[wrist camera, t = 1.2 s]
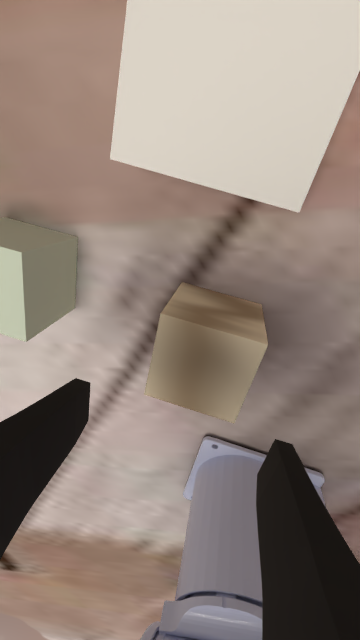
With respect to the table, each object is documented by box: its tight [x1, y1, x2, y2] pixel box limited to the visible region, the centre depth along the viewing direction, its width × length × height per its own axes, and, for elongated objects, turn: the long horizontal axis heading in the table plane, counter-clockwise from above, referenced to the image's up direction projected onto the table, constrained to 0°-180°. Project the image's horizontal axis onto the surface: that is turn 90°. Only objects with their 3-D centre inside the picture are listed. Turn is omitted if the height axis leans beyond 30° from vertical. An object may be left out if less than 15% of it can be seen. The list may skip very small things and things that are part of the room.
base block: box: [110, 0, 360, 213], centre depth 11 cm, size 8×8×4 cm
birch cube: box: [144, 282, 268, 423], centre depth 16 cm, size 5×5×5 cm
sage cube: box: [0, 217, 78, 342], centre depth 16 cm, size 5×5×5 cm
